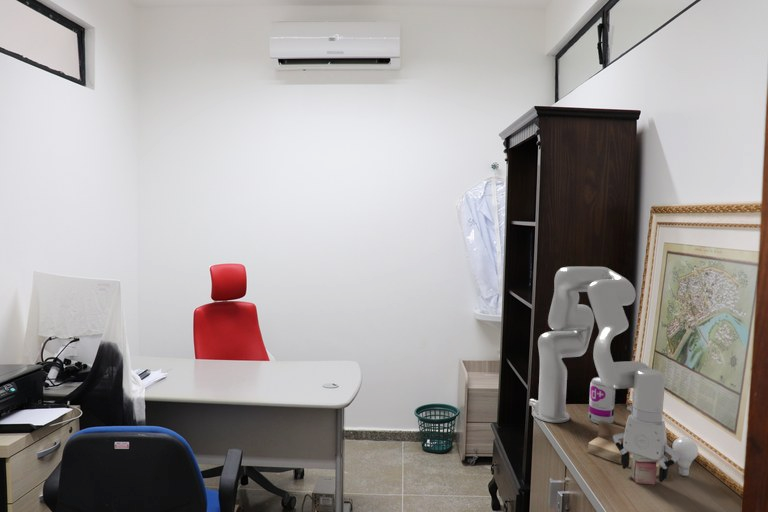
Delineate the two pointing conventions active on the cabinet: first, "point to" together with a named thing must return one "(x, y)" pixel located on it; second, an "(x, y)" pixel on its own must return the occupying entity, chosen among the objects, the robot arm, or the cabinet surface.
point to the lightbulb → (685, 454)
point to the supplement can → (601, 402)
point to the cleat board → (611, 444)
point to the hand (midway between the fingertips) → (643, 473)
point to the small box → (643, 469)
